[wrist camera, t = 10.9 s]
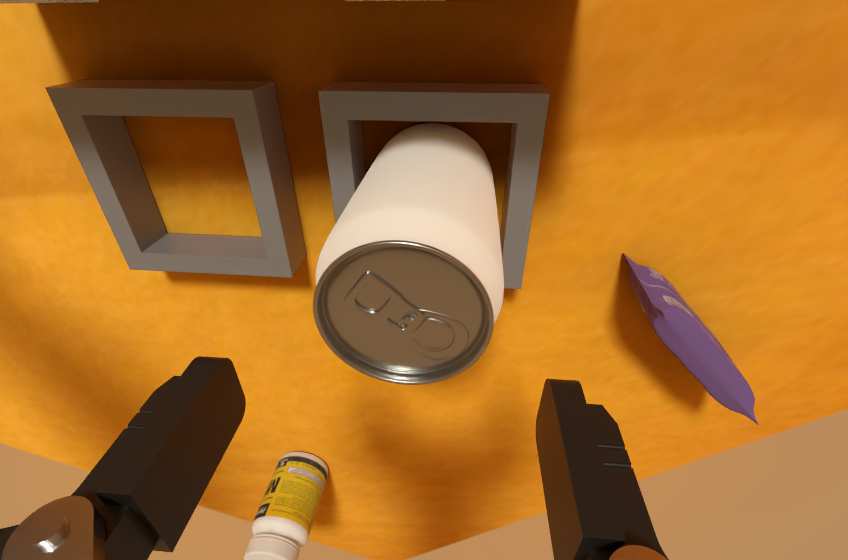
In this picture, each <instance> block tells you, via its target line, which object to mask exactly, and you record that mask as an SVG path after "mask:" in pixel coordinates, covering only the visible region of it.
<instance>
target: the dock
mask: <svg viewBox="0 0 848 560" xmlns="http://www.w3.org/2000/svg"><path fill="white" fill-rule="evenodd" d="M345 1H444V0H345ZM89 2H99V0H0V3H89ZM46 90H47V92H48V94H49V96H50V99H51V101H52V103H53V105H54V107H55V109H56V111H57V114H58V116H59V118H60V120H61V122H62V124H63V127H64V129H65V131H66V133H67V135H68V137H69V139H70V142H71V144H72V146H73V148H74V150H75V152H76V154H77V157H78V159H79V161H80V163H81V165H82V167H83V169H84V172H85V174H86V176H87V178H88V180H89V182H90V184H91V187H92V189H93V191H94V193H95V195H96V197H97V200H98V202H99V204H100V206H101V208H102V210H103V212H104V215H105V217H106V219H107V221H108V223H109V225H110V227H111V230H112V232H113V234H114V236H115V238H116V240H117V242H118V245H119V247H120V249H121V251H122V253H123V255H124V257H125V260H126V262H127V264H128V266H129V268H130V269H132V270H152V271H171V272H191V273H211V274H231V275H250V276H270V277H290V278H292V277H293V276H294V274H295V273H296V271H297V270H298V268H299V267H300V265H301V264H302V262H303V260H304V259H305V257H306V256H307V255H306V250H305V244H304V239H303V234H302V228H301V223H300V218H299V212H298V207H297V201H296V196H295V191H294V185H293V180H292V175H291V169H290V164H289V158H288V153H287V148H286V142H285V137H284V132H283V126H282V121H281V115H280V110H279V105H278V99H277V94H276V89H275V83H274V81H227V80H128V79H84V80H79V81H75V82H70V83H65V84H60V85H56V86H51V87H46ZM318 97H319V104H320V111H321V119H322V126H323V134H324V141H325V148H326V156H327V163H328V171H329V178H330V185H331V193H332V200H333V208H334V215H335V222H336V223H337V221H338V219H339V218H340V216H341V214H342V213H343V211H344V209H345V208H346V206H347V204H348V203H349V201H350V199H351V198H352V196H353V195H354V193H355V191H356V190H357V188H358V186H359V185H360V183H361V182H362V180H363V178H364V177H365V163H364V151H363V140H362V128H361V120H380V121H436V122H492V123H512V127H511V137H510V146H509V155H508V165H507V174H506V183H505V193H504V202H503V212H502V221H501V230H500V243H501V253H502V263H503V275H504V288H508V289H521V285H522V279H523V272H524V265H525V259H526V252H527V245H528V239H529V232H530V225H531V219H532V212H533V205H534V199H535V192H536V185H537V178H538V172H539V165H540V158H541V152H542V145H543V138H544V132H545V125H546V118H547V112H548V105H549V98H550V93H549V92H548V90H547V89H546V88H545V87H544V85H543V84H522V83H423V82H332V83H330V84H329V85H327V86H325V87H323V88H322V89H320V90H318ZM122 116H157V117H213V118H233V119H234V123H235V127H236V131H237V135H238V139H239V143H240V147H241V152H242V156H243V160H244V164H245V168H246V172H247V176H248V180H249V184H250V188H251V192H252V196H253V200H254V204H255V208H256V212H257V216H258V221H259V225H260V229H261V233H262V237H251V236H228V235H204V234H181V233H167V231H166V228H165V226H164V223H163V220H162V218H161V215H160V213H159V210H158V208H157V205H156V202H155V200H154V197H153V195H152V192H151V189H150V187H149V184H148V182H147V179H146V176H145V174H144V171H143V169H142V166H141V163H140V161H139V158H138V156H137V153H136V150H135V148H134V145H133V143H132V140H131V138H130V135H129V132H128V130H127V127H126V125H125V122H124V119H123V117H122Z"/></svg>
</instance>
